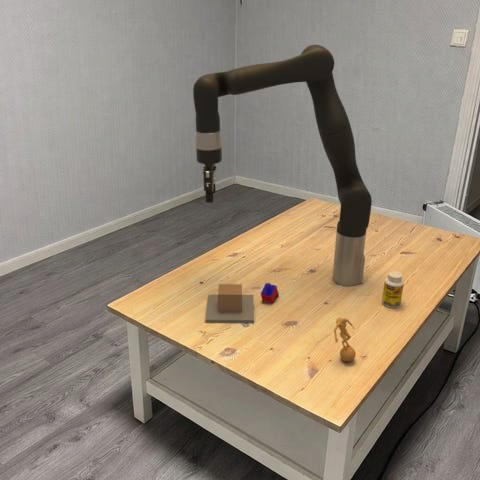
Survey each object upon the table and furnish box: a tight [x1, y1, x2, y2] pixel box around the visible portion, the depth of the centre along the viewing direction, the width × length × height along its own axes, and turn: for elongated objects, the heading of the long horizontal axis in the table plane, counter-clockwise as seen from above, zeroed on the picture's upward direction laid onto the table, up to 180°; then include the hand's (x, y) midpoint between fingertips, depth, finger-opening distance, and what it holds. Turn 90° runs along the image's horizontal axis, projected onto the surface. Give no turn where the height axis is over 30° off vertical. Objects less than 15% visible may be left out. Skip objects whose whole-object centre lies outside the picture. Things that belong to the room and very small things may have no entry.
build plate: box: [204, 283, 255, 324], centre depth 157 cm, size 14×14×7 cm
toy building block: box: [260, 282, 280, 304], centre depth 162 cm, size 4×4×8 cm
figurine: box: [333, 317, 357, 363], centre depth 135 cm, size 8×6×12 cm
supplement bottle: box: [381, 270, 405, 309], centre depth 160 cm, size 6×6×10 cm
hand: (210, 197), depth 164 cm, fingers open, 8 cm apart
